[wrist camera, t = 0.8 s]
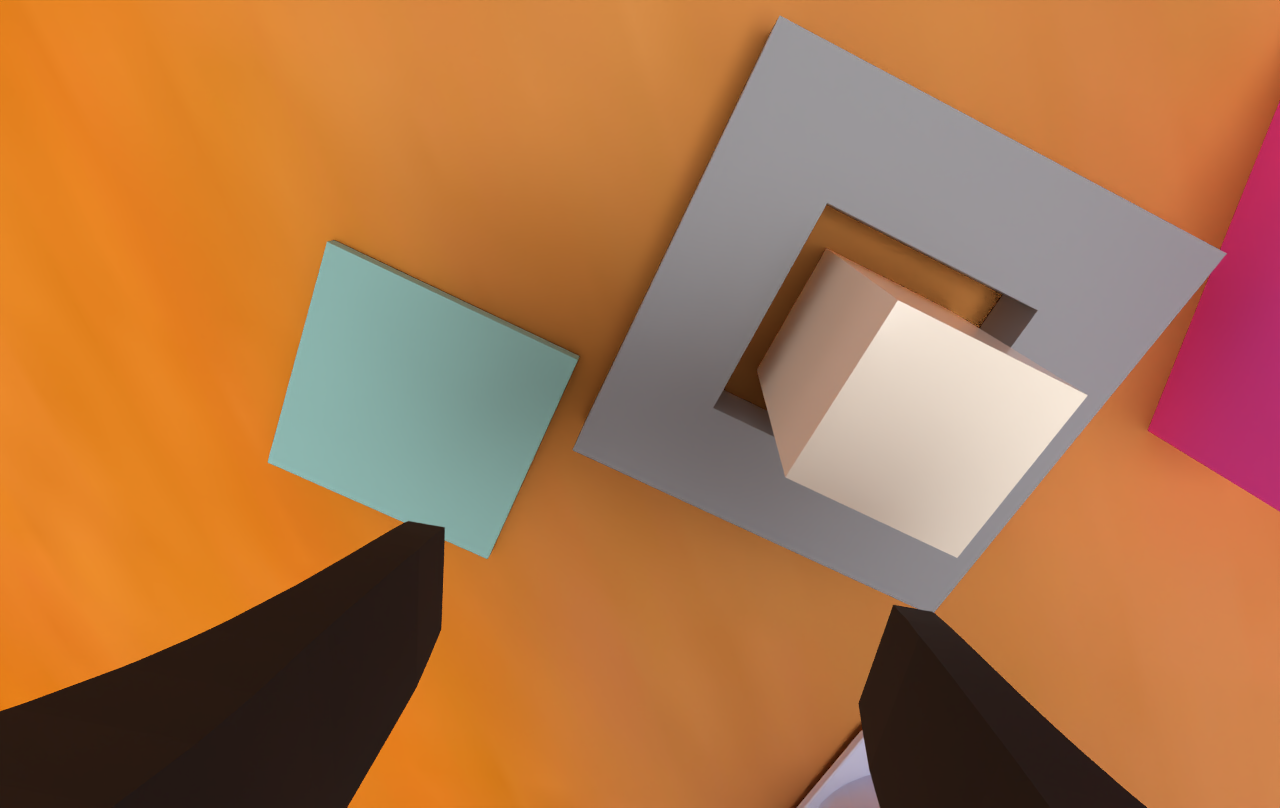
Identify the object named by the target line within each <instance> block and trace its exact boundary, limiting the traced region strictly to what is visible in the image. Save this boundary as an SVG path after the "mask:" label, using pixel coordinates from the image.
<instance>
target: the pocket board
mask: <svg viewBox="0 0 1280 808" xmlns="http://www.w3.org/2000/svg"><path fill="white" fill-rule="evenodd" d="M826 205H828V206H830V207H832V208H834V209H836V210H838V211H840V212H842V213H844V214H846V215H848V216H850V217H852V218H853V219H855V220H857V221H859V222H861V223H863V224H865V225H867V226H869V227H871V228H873V229H875V230H877V231H879V232H881V233H883V234H885V235H887V236H889V237H891V238H893V239H895V240H897V241H899V242H901V243H903V244H905V245H906V246H908V247H910V248H912V249H914V250H916V251H918V252H920V253H922V254H924V255H926V256H928V257H930V258H932V259H934V260H936V261H938V262H940V263H942V264H944V265H946V266H948V267H950V268H952V269H954V270H956V271H957V272H959V273H961V274H963V275H965V276H967V277H969V278H971V279H973V280H975V281H977V282H979V283H981V284H983V285H985V286H987V287H989V288H991V289H993V290H995V291H997V292H999V293H1001V294H1003V295H1002V297H1001V298H1000V299H999V301H998V302H997V304H996V305H995V307H994V308H993V310H992V311H991V312H990V314H989V315H988V317H987V318H986V320H985V321H984V322H983V324H982V325H981V327H980V329H981V330H983V331H984V332H986V333H988V334H989V335H991V336H993V337H994V338H996V339H997V340H999V341H1001V342H1002V343H1004V344H1005V345H1007V346H1009V347H1010V348H1012V349H1014V350H1015V351H1017V352H1018V353H1020V354H1022V355H1023V356H1025V357H1027V358H1028V359H1030V360H1031V361H1033V362H1035V363H1036V364H1038V365H1040V366H1041V367H1043V368H1044V369H1046V370H1048V371H1049V372H1051V373H1053V374H1054V375H1056V376H1057V377H1059V378H1061V379H1062V380H1064V381H1066V382H1067V383H1069V384H1070V385H1072V386H1074V387H1075V388H1077V389H1078V390H1080V391H1082V392H1083V393H1085V394H1087V395H1088V396H1087V397H1086V398H1085V400H1084V401H1083V402H1082V403H1081V405H1080V406H1079V407H1078V408H1077V409H1076V411H1075V412H1074V413H1073V414H1072V416H1071V417H1070V418H1069V419H1068V421H1067V422H1066V423H1065V424H1064V426H1063V427H1062V428H1061V429H1060V431H1059V432H1058V433H1057V434H1056V436H1055V437H1054V438H1053V439H1052V441H1051V442H1050V443H1049V444H1048V446H1047V447H1046V448H1045V449H1044V451H1043V452H1042V453H1041V454H1040V456H1039V457H1038V458H1037V459H1036V461H1035V462H1034V463H1033V464H1032V466H1031V467H1030V468H1029V469H1028V470H1027V472H1026V473H1025V474H1024V475H1023V477H1022V478H1021V479H1020V480H1019V482H1018V483H1017V484H1016V485H1015V487H1014V488H1013V489H1012V490H1011V492H1010V493H1009V494H1008V495H1007V497H1006V498H1005V499H1004V500H1003V502H1002V503H1001V504H1000V505H999V507H998V508H997V509H996V510H995V512H994V513H993V514H992V515H991V517H990V518H989V519H988V520H987V522H986V523H985V524H984V525H983V527H982V528H981V529H980V530H979V531H978V533H977V534H976V535H975V536H974V538H973V539H972V540H971V541H970V543H969V544H968V545H967V546H966V548H965V549H964V550H963V551H962V553H961V554H960V555H959V556H958V558H956V557H954V556H952V555H950V554H948V553H945V552H943V551H941V550H939V549H937V548H935V547H933V546H931V545H928V544H926V543H924V542H922V541H920V540H918V539H916V538H913V537H911V536H909V535H907V534H905V533H903V532H901V531H899V530H896V529H894V528H892V527H890V526H888V525H886V524H884V523H881V522H879V521H877V520H875V519H873V518H871V517H869V516H867V515H864V514H862V513H860V512H858V511H856V510H854V509H852V508H849V507H847V506H845V505H843V504H841V503H839V502H837V501H835V500H832V499H830V498H828V497H826V496H824V495H822V494H820V493H817V492H815V491H813V490H811V489H809V488H807V487H805V486H803V485H800V484H798V483H796V482H794V481H792V480H790V479H788V478H786V477H785V474H784V471H783V467H782V463H781V459H780V456H779V452H778V448H777V444H776V441H775V437H774V433H773V429H772V426H771V422H770V418H769V414H768V411H767V410H765V409H762V408H760V407H758V406H756V405H754V404H752V403H750V402H748V401H746V400H744V399H742V398H739V397H737V396H735V395H733V394H731V393H729V392H727V391H725V390H723V389H724V388H725V386H726V384H727V382H728V380H729V379H730V377H731V375H732V373H733V371H734V370H735V368H736V366H737V364H738V362H739V361H740V359H741V357H742V355H743V353H744V352H745V350H746V348H747V346H748V344H749V343H750V341H751V339H752V337H753V335H754V334H755V332H756V330H757V328H758V327H759V325H760V323H761V321H762V319H763V318H764V316H765V314H766V312H767V310H768V309H769V307H770V305H771V303H772V301H773V300H774V298H775V296H776V294H777V292H778V291H779V289H780V287H781V285H782V283H783V282H784V280H785V278H786V276H787V274H788V273H789V271H790V269H791V267H792V265H793V264H794V262H795V260H796V258H797V257H798V255H799V253H800V251H801V249H802V248H803V246H804V244H805V242H806V240H807V239H808V237H809V235H810V233H811V231H812V230H813V228H814V226H815V224H816V222H817V221H818V219H819V217H820V215H821V213H822V212H823V210H824V208H825V206H826ZM1226 254H1227V253H1225V252H1223V251H1221V250H1219V249H1217V248H1215V247H1214V246H1212V245H1210V244H1208V243H1206V242H1204V241H1202V240H1200V239H1199V238H1197V237H1195V236H1193V235H1191V234H1189V233H1187V232H1185V231H1184V230H1182V229H1180V228H1178V227H1176V226H1174V225H1172V224H1170V223H1169V222H1167V221H1165V220H1163V219H1161V218H1159V217H1157V216H1155V215H1153V214H1152V213H1150V212H1148V211H1146V210H1144V209H1142V208H1140V207H1138V206H1137V205H1135V204H1133V203H1131V202H1129V201H1127V200H1125V199H1123V198H1122V197H1120V196H1118V195H1116V194H1114V193H1112V192H1110V191H1108V190H1107V189H1105V188H1103V187H1101V186H1099V185H1097V184H1095V183H1093V182H1091V181H1090V180H1088V179H1086V178H1084V177H1082V176H1080V175H1078V174H1076V173H1075V172H1073V171H1071V170H1069V169H1067V168H1065V167H1063V166H1061V165H1060V164H1058V163H1056V162H1054V161H1052V160H1050V159H1048V158H1046V157H1045V156H1043V155H1041V154H1039V153H1037V152H1035V151H1033V150H1031V149H1029V148H1028V147H1026V146H1024V145H1022V144H1020V143H1018V142H1016V141H1014V140H1013V139H1011V138H1009V137H1007V136H1005V135H1003V134H1001V133H999V132H998V131H996V130H994V129H992V128H990V127H988V126H986V125H984V124H983V123H981V122H979V121H977V120H975V119H973V118H971V117H969V116H967V115H966V114H964V113H962V112H960V111H958V110H956V109H954V108H952V107H951V106H949V105H947V104H945V103H943V102H941V101H939V100H937V99H936V98H934V97H932V96H930V95H928V94H926V93H924V92H922V91H921V90H919V89H917V88H915V87H913V86H911V85H909V84H907V83H905V82H904V81H902V80H900V79H898V78H896V77H894V76H892V75H890V74H889V73H887V72H885V71H883V70H881V69H879V68H877V67H875V66H874V65H872V64H870V63H868V62H866V61H864V60H862V59H860V58H859V57H857V56H855V55H853V54H851V53H849V52H847V51H845V50H843V49H842V48H840V47H838V46H836V45H834V44H832V43H830V42H828V41H827V40H825V39H823V38H821V37H819V36H817V35H815V34H813V33H812V32H810V31H808V30H806V29H804V28H802V27H800V26H798V25H797V24H795V23H793V22H791V21H789V20H787V19H785V18H783V17H781V16H779V18H778V20H777V21H776V23H775V25H774V27H773V29H772V30H771V32H770V34H769V36H768V38H767V40H766V43H765V45H764V47H763V49H762V51H761V53H760V55H759V57H758V59H757V62H756V64H755V66H754V68H753V70H752V72H751V74H750V76H749V78H748V80H747V83H746V85H745V87H744V89H743V91H742V93H741V95H740V97H739V99H738V101H737V104H736V106H735V108H734V110H733V112H732V114H731V116H730V118H729V120H728V122H727V125H726V127H725V129H724V131H723V133H722V135H721V137H720V139H719V141H718V143H717V146H716V148H715V150H714V152H713V154H712V156H711V158H710V160H709V162H708V164H707V167H706V169H705V171H704V173H703V175H702V177H701V179H700V181H699V183H698V185H697V188H696V190H695V192H694V194H693V196H692V198H691V200H690V202H689V204H688V206H687V209H686V211H685V213H684V215H683V217H682V219H681V221H680V223H679V225H678V227H677V230H676V232H675V234H674V236H673V238H672V240H671V242H670V244H669V246H668V248H667V251H666V253H665V255H664V257H663V259H662V261H661V263H660V265H659V267H658V269H657V272H656V274H655V276H654V278H653V280H652V282H651V284H650V286H649V288H648V290H647V293H646V295H645V297H644V299H643V301H642V303H641V305H640V307H639V309H638V311H637V314H636V316H635V318H634V320H633V322H632V324H631V326H630V328H629V330H628V332H627V335H626V337H625V339H624V341H623V343H622V345H621V347H620V349H619V351H618V353H617V356H616V358H615V360H614V362H613V364H612V366H611V368H610V370H609V372H608V374H607V377H606V379H605V381H604V383H603V385H602V387H601V389H600V391H599V393H598V395H597V398H596V400H595V402H594V404H593V406H592V408H591V410H590V412H589V414H588V416H587V419H586V421H585V423H584V425H583V427H582V430H581V432H580V434H579V437H578V439H577V441H576V443H575V446H574V448H573V451H575V452H578V453H580V454H582V455H584V456H586V457H588V458H591V459H593V460H595V461H597V462H599V463H602V464H604V465H606V466H608V467H610V468H612V469H615V470H617V471H619V472H621V473H623V474H625V475H628V476H630V477H632V478H634V479H636V480H639V481H641V482H643V483H645V484H647V485H649V486H652V487H654V488H656V489H658V490H660V491H662V492H665V493H667V494H669V495H671V496H673V497H676V498H678V499H680V500H682V501H684V502H686V503H689V504H691V505H693V506H695V507H697V508H699V509H702V510H704V511H706V512H708V513H710V514H713V515H715V516H717V517H719V518H721V519H723V520H726V521H728V522H730V523H732V524H734V525H736V526H739V527H741V528H743V529H745V530H747V531H750V532H752V533H754V534H756V535H758V536H760V537H763V538H765V539H767V540H769V541H771V542H773V543H776V544H778V545H780V546H782V547H784V548H787V549H789V550H791V551H793V552H795V553H797V554H800V555H802V556H804V557H806V558H808V559H810V560H813V561H815V562H817V563H819V564H821V565H824V566H826V567H828V568H830V569H832V570H834V571H837V572H839V573H841V574H843V575H845V576H848V577H850V578H852V579H854V580H856V581H858V582H861V583H863V584H865V585H867V586H869V587H871V588H874V589H876V590H878V591H880V592H882V593H885V594H887V595H889V596H891V597H893V598H895V599H898V600H900V601H902V602H904V603H906V604H908V605H911V606H913V607H915V608H917V609H920V610H926V611H931V612H933V613H934V612H935V611H936V610H937V608H938V607H939V606H940V605H941V603H942V602H943V601H944V600H945V599H946V597H947V596H948V595H949V594H950V592H951V591H952V590H953V589H954V587H955V586H956V585H957V584H958V583H959V581H960V580H961V579H962V578H963V576H964V575H965V574H966V573H967V572H968V570H969V569H970V568H971V567H972V565H973V564H974V563H975V562H976V561H977V559H978V558H979V557H980V556H981V554H982V553H983V552H984V551H985V549H986V548H987V547H988V546H989V545H990V543H991V542H992V541H993V540H994V538H995V537H996V536H997V535H998V534H999V532H1000V531H1001V530H1002V529H1003V527H1004V526H1005V525H1006V524H1007V523H1008V521H1009V520H1010V519H1011V518H1012V516H1013V515H1014V514H1015V513H1016V511H1017V510H1018V509H1019V508H1020V507H1021V505H1022V504H1023V503H1024V502H1025V500H1026V499H1027V498H1028V497H1029V496H1030V494H1031V493H1032V492H1033V491H1034V489H1035V488H1036V487H1037V486H1038V485H1039V483H1040V482H1041V481H1042V480H1043V478H1044V477H1045V476H1046V475H1047V473H1048V472H1049V471H1050V470H1051V469H1052V467H1053V466H1054V465H1055V464H1056V462H1057V461H1058V460H1059V459H1060V458H1061V456H1062V455H1063V454H1064V453H1065V451H1066V450H1067V449H1068V448H1069V447H1070V445H1071V444H1072V443H1073V442H1074V440H1075V439H1076V438H1077V437H1078V435H1079V434H1080V433H1081V432H1082V431H1083V429H1084V428H1085V427H1086V426H1087V424H1088V423H1089V422H1090V421H1091V420H1092V418H1093V417H1094V416H1095V415H1096V413H1097V412H1098V411H1099V410H1100V409H1101V407H1102V406H1103V405H1104V404H1105V402H1106V401H1107V400H1108V399H1109V397H1110V396H1111V395H1112V394H1113V393H1114V391H1115V390H1116V389H1117V388H1118V386H1119V385H1120V384H1121V383H1122V382H1123V380H1124V379H1125V378H1126V377H1127V375H1128V374H1129V373H1130V372H1131V371H1132V369H1133V368H1134V367H1135V366H1136V364H1137V363H1138V362H1139V361H1140V359H1141V358H1142V357H1143V356H1144V355H1145V353H1146V352H1147V351H1148V350H1149V348H1150V347H1151V346H1152V345H1153V344H1154V342H1155V341H1156V340H1157V339H1158V337H1159V336H1160V335H1161V334H1162V332H1163V331H1164V330H1165V329H1166V328H1167V326H1168V325H1169V324H1170V323H1171V321H1172V320H1173V319H1174V318H1175V317H1176V315H1177V314H1178V313H1179V312H1180V310H1181V309H1182V308H1183V307H1184V306H1185V304H1186V303H1187V302H1188V301H1189V299H1190V298H1191V297H1192V296H1193V294H1194V293H1195V292H1196V291H1197V290H1198V288H1199V287H1200V286H1201V285H1202V283H1203V282H1204V281H1205V280H1206V279H1207V277H1208V276H1209V275H1210V274H1211V272H1212V271H1213V270H1214V269H1215V268H1216V266H1217V265H1218V264H1219V263H1220V261H1221V260H1222V259H1223V258H1224V256H1225V255H1226Z"/></svg>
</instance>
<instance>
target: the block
mask: <svg viewBox="0 0 1280 808" xmlns="http://www.w3.org/2000/svg"><path fill="white" fill-rule="evenodd" d="M757 373H758V377H759V380H760V384H761V388H762V392H763V395H764V399H765V403H766V407H767V411H768V414H769V418H770V422H771V426H772V429H773V433H774V437H775V441H776V444H777V448H778V452H779V456H780V459H781V463H782V467H783V471H784V474H785V477H786V478H788V479H790V480H792V481H794V482H796V483H798V484H800V485H803V486H805V487H807V488H809V489H811V490H813V491H815V492H817V493H820V494H822V495H824V496H826V497H828V498H830V499H832V500H835V501H837V502H839V503H841V504H843V505H845V506H847V507H849V508H852V509H854V510H856V511H858V512H860V513H862V514H864V515H867V516H869V517H871V518H873V519H875V520H877V521H879V522H881V523H884V524H886V525H888V526H890V527H892V528H894V529H896V530H899V531H901V532H903V533H905V534H907V535H909V536H911V537H913V538H916V539H918V540H920V541H922V542H924V543H926V544H928V545H931V546H933V547H935V548H937V549H939V550H941V551H943V552H945V553H948V554H950V555H952V556H954V557H956V558H958V556H959V555H960V554H961V553H962V551H963V550H964V549H965V548H966V546H967V545H968V544H969V543H970V541H971V540H972V539H973V538H974V536H975V535H976V534H977V533H978V531H979V530H980V529H981V528H982V527H983V525H984V524H985V523H986V522H987V520H988V519H989V518H990V517H991V515H992V514H993V513H994V512H995V510H996V509H997V508H998V507H999V505H1000V504H1001V503H1002V502H1003V500H1004V499H1005V498H1006V497H1007V495H1008V494H1009V493H1010V492H1011V490H1012V489H1013V488H1014V487H1015V485H1016V484H1017V483H1018V482H1019V480H1020V479H1021V478H1022V477H1023V475H1024V474H1025V473H1026V472H1027V470H1028V469H1029V468H1030V467H1031V466H1032V464H1033V463H1034V462H1035V461H1036V459H1037V458H1038V457H1039V456H1040V454H1041V453H1042V452H1043V451H1044V449H1045V448H1046V447H1047V446H1048V444H1049V443H1050V442H1051V441H1052V439H1053V438H1054V437H1055V436H1056V434H1057V433H1058V432H1059V431H1060V429H1061V428H1062V427H1063V426H1064V424H1065V423H1066V422H1067V421H1068V419H1069V418H1070V417H1071V416H1072V414H1073V413H1074V412H1075V411H1076V409H1077V408H1078V407H1079V406H1080V405H1081V403H1082V402H1083V401H1084V400H1085V398H1086V397H1087V396H1088V395H1087V394H1085V393H1083V392H1082V391H1080V390H1078V389H1077V388H1075V387H1074V386H1072V385H1070V384H1069V383H1067V382H1066V381H1064V380H1062V379H1061V378H1059V377H1057V376H1056V375H1054V374H1053V373H1051V372H1049V371H1048V370H1046V369H1044V368H1043V367H1041V366H1040V365H1038V364H1036V363H1035V362H1033V361H1031V360H1030V359H1028V358H1027V357H1025V356H1023V355H1022V354H1020V353H1018V352H1017V351H1015V350H1014V349H1012V348H1010V347H1009V346H1007V345H1005V344H1004V343H1002V342H1001V341H999V340H997V339H996V338H994V337H993V336H991V335H989V334H988V333H986V332H984V331H983V330H981V329H980V328H978V327H976V326H975V325H973V324H971V323H970V322H968V321H967V320H965V319H963V318H962V317H960V316H958V315H957V314H955V313H954V312H952V311H950V310H948V309H946V308H944V307H942V306H940V305H938V304H936V303H934V302H933V301H931V300H929V299H927V298H925V297H923V296H921V295H919V294H917V293H915V292H913V291H911V290H909V289H907V288H905V287H903V286H901V285H899V284H897V283H895V282H893V281H891V280H889V279H887V278H885V277H883V276H881V275H879V274H877V273H875V272H873V271H871V270H869V269H867V268H865V267H863V266H861V265H859V264H857V263H855V262H853V261H851V260H849V259H847V258H845V257H843V256H841V255H839V254H837V253H835V252H833V251H831V250H829V249H827V248H826V250H825V251H824V253H823V255H822V257H821V258H820V260H819V262H818V264H817V265H816V267H815V269H814V271H813V272H812V274H811V276H810V278H809V279H808V281H807V283H806V285H805V286H804V288H803V290H802V292H801V293H800V295H799V297H798V299H797V300H796V302H795V304H794V306H793V307H792V309H791V311H790V313H789V314H788V316H787V318H786V320H785V321H784V323H783V325H782V327H781V328H780V330H779V332H778V334H777V335H776V337H775V339H774V341H773V342H772V344H771V346H770V348H769V349H768V351H767V353H766V355H765V356H764V358H763V360H762V362H761V363H760V365H759V367H758V369H757Z"/></svg>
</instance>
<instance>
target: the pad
mask: <svg viewBox="0 0 1280 808" xmlns="http://www.w3.org/2000/svg"><path fill="white" fill-rule="evenodd" d="M579 357H580V356H578V355H576V354H574V353H572V352H570V351H568V350H566V349H564V348H562V347H559V346H557V345H555V344H553V343H551V342H549V341H547V340H545V339H542V338H540V337H538V336H536V335H534V334H532V333H530V332H528V331H526V330H523V329H521V328H519V327H517V326H515V325H513V324H511V323H509V322H506V321H504V320H502V319H500V318H498V317H496V316H494V315H492V314H490V313H487V312H485V311H483V310H481V309H479V308H477V307H475V306H473V305H471V304H468V303H466V302H464V301H462V300H460V299H458V298H456V297H454V296H451V295H449V294H447V293H445V292H443V291H441V290H439V289H437V288H435V287H432V286H430V285H428V284H426V283H424V282H422V281H420V280H418V279H415V278H413V277H411V276H409V275H407V274H405V273H403V272H401V271H399V270H396V269H394V268H392V267H390V266H388V265H386V264H384V263H382V262H379V261H377V260H375V259H373V258H371V257H369V256H367V255H365V254H363V253H360V252H358V251H356V250H354V249H352V248H350V247H348V246H346V245H343V244H341V243H339V242H337V241H335V240H333V241H329V242H327V244H326V248H325V252H324V255H323V259H322V263H321V266H320V270H319V274H318V277H317V281H316V285H315V289H314V292H313V296H312V300H311V303H310V307H309V311H308V314H307V318H306V322H305V326H304V329H303V333H302V337H301V340H300V344H299V348H298V352H297V355H296V359H295V363H294V366H293V370H292V374H291V377H290V381H289V385H288V389H287V392H286V396H285V400H284V403H283V407H282V411H281V415H280V418H279V422H278V426H277V429H276V433H275V437H274V440H273V444H272V448H271V452H270V455H269V459H268V463H270V464H273V465H275V466H277V467H279V468H282V469H284V470H286V471H288V472H291V473H293V474H295V475H298V476H300V477H302V478H304V479H307V480H309V481H311V482H313V483H316V484H318V485H320V486H323V487H325V488H327V489H329V490H332V491H334V492H336V493H338V494H341V495H343V496H345V497H348V498H350V499H352V500H354V501H357V502H359V503H361V504H363V505H366V506H368V507H370V508H373V509H375V510H377V511H379V512H382V513H384V514H386V515H388V516H391V517H393V518H395V519H398V520H400V521H402V522H404V523H405V522H407V521H412V522H417V523H423V524H429V525H435V526H441V527H445V541H448V542H450V543H452V544H454V545H457V546H459V547H461V548H464V549H466V550H468V551H470V552H473V553H475V554H477V555H479V556H482V557H484V558H486V559H488V557H489V555H490V554H491V552H492V549H493V547H494V545H495V543H496V541H497V538H498V536H499V534H500V532H501V529H502V527H503V525H504V523H505V521H506V518H507V516H508V514H509V512H510V510H511V507H512V505H513V503H514V501H515V499H516V496H517V494H518V492H519V490H520V488H521V485H522V483H523V481H524V479H525V476H526V474H527V472H528V470H529V468H530V465H531V463H532V461H533V459H534V457H535V454H536V452H537V450H538V448H539V446H540V443H541V441H542V439H543V437H544V435H545V432H546V430H547V428H548V426H549V423H550V421H551V419H552V417H553V415H554V412H555V410H556V408H557V406H558V404H559V401H560V399H561V397H562V395H563V393H564V390H565V388H566V386H567V384H568V381H569V379H570V377H571V375H572V373H573V370H574V368H575V366H576V364H577V362H578V359H579Z"/></svg>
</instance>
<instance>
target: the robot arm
mask: <svg viewBox="0 0 1280 808" xmlns="http://www.w3.org/2000/svg"><path fill="white" fill-rule="evenodd" d="M444 541H445V527H441V526H435V525H429V524H423V523H417V522H412V521H407V522H405V523H403V524H401V525H399V526H398V527H396V528H394V529H392V530H391V531H389V532H387V533H385V534H384V535H382V536H380V537H379V538H377V539H375V540H373V541H372V542H370V543H368V544H367V545H365V546H363V547H362V548H360V549H358V550H357V551H355V552H353V553H352V554H350V555H348V556H346V557H345V558H343V559H341V560H339V561H338V562H336V563H334V564H332V565H331V566H329V567H327V568H325V569H324V570H322V571H320V572H319V573H317V574H315V575H313V576H312V577H310V578H308V579H306V580H305V581H303V582H301V583H299V584H297V585H296V586H294V587H292V588H290V589H288V590H286V591H284V592H282V593H280V594H278V595H276V596H274V597H273V598H271V599H269V600H267V601H265V602H263V603H261V604H259V605H257V606H255V607H253V608H251V609H249V610H247V611H246V612H244V613H242V614H240V615H238V616H236V617H234V618H232V619H230V620H228V621H226V622H224V623H222V624H220V625H218V626H216V627H214V628H211V629H209V630H207V631H205V632H203V633H201V634H198V635H196V636H194V637H192V638H190V639H188V640H185V641H183V642H181V643H178V644H176V645H174V646H171V647H169V648H167V649H164V650H162V651H160V652H157V653H155V654H153V655H150V656H148V657H146V658H143V659H141V660H139V661H136V662H134V663H131V664H129V665H126V666H124V667H121V668H119V669H116V670H113V671H111V672H108V673H105V674H102V675H100V676H97V677H94V678H92V679H89V680H86V681H83V682H81V683H78V684H75V685H73V686H70V687H67V688H65V689H62V690H59V691H56V692H54V693H51V694H48V695H46V696H43V697H40V698H38V699H35V700H32V701H29V702H27V703H24V704H21V705H18V706H15V707H12V708H9V709H6V710H3V711H0V808H347V807H348V805H349V803H350V802H351V800H352V798H353V796H354V795H355V793H356V791H357V790H358V788H359V786H360V784H361V783H362V781H363V779H364V778H365V776H366V774H367V772H368V771H369V769H370V767H371V766H372V764H373V762H374V760H375V759H376V757H377V755H378V753H379V752H380V750H381V748H382V747H383V745H384V743H385V741H386V740H387V738H388V736H389V735H390V733H391V731H392V729H393V728H394V726H395V724H396V722H397V721H398V719H399V717H400V715H401V714H402V712H403V710H404V708H405V707H406V705H407V703H408V701H409V700H410V698H411V696H412V694H413V692H414V691H415V689H416V687H417V685H418V683H419V680H420V678H421V676H422V673H423V671H424V669H425V667H426V664H427V662H428V660H429V657H430V655H431V653H432V650H433V648H434V645H435V643H436V641H437V638H438V636H439V633H440V631H441V621H442V595H443V568H444ZM859 709H860V716H861V723H862V731H860V732H859V734H858V735H857V736H856V737H855V738H854V740H853V741H852V742H851V743H850V744H849V746H848V747H847V748H846V749H845V750H844V752H843V753H842V754H841V755H840V756H839V758H838V759H837V760H836V761H835V762H834V763H833V765H832V766H831V767H830V768H829V769H828V771H827V772H826V773H825V774H824V775H823V777H822V778H821V779H820V780H819V781H818V783H817V784H816V785H815V786H814V787H813V789H812V790H811V791H810V792H809V793H808V795H807V796H806V797H805V798H804V799H803V801H802V802H801V803H800V804H799V805H798V807H797V808H1147V807H1146V806H1145V805H1143V804H1142V803H1141V802H1140V801H1138V800H1137V799H1136V798H1135V797H1134V796H1132V795H1131V794H1130V793H1129V792H1128V791H1126V790H1125V789H1124V788H1123V787H1122V786H1121V785H1120V784H1118V783H1117V782H1116V781H1115V780H1114V779H1113V778H1112V777H1110V776H1109V775H1108V774H1107V773H1106V772H1105V771H1104V770H1102V769H1101V768H1100V767H1099V766H1098V765H1097V764H1095V763H1094V762H1093V761H1092V760H1091V759H1090V758H1089V757H1087V756H1086V755H1085V754H1084V753H1083V752H1082V751H1081V750H1079V749H1078V748H1077V747H1076V746H1075V745H1074V744H1073V743H1072V742H1071V741H1070V740H1068V739H1067V738H1066V737H1065V736H1064V735H1063V734H1062V733H1061V732H1060V731H1059V730H1057V729H1056V728H1055V727H1054V726H1053V725H1052V724H1051V723H1050V722H1049V721H1048V720H1047V719H1046V718H1045V717H1043V716H1042V715H1041V714H1040V713H1039V712H1038V711H1037V710H1036V709H1035V708H1034V707H1033V706H1032V705H1031V704H1030V703H1029V702H1028V701H1027V700H1025V699H1024V698H1023V697H1022V696H1021V695H1020V694H1019V693H1018V692H1017V691H1016V690H1015V689H1014V688H1013V687H1012V686H1011V685H1010V684H1009V683H1008V682H1007V681H1006V680H1005V679H1004V678H1003V677H1002V676H1000V675H999V674H998V673H997V672H996V671H995V670H994V669H993V668H992V667H991V666H990V665H989V664H988V663H987V662H986V661H985V660H984V659H983V658H982V657H981V656H980V655H979V654H978V653H977V652H976V651H975V650H974V649H973V648H972V647H971V646H970V645H968V644H967V643H966V642H965V641H964V640H963V639H962V638H961V637H960V636H959V635H958V634H957V633H956V632H955V631H954V630H953V629H952V628H951V627H949V626H948V625H947V624H946V623H945V622H944V621H943V620H942V619H940V618H939V617H938V616H937V615H936V614H935V613H933V612H931V611H926V610H920V609H914V608H908V607H903V606H897V605H893V607H892V610H891V613H890V616H889V619H888V622H887V625H886V627H885V630H884V633H883V636H882V639H881V642H880V644H879V647H878V650H877V653H876V656H875V659H874V661H873V664H872V667H871V670H870V673H869V676H868V678H867V681H866V684H865V687H864V690H863V693H862V695H861V698H860V701H859Z"/></svg>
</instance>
